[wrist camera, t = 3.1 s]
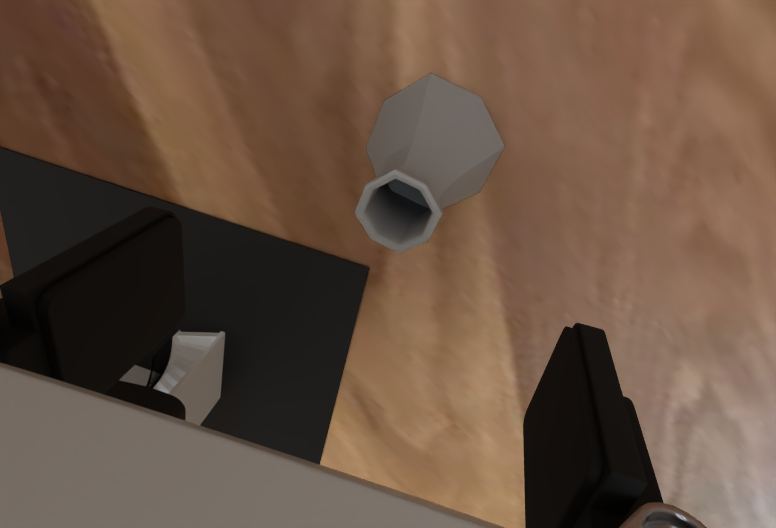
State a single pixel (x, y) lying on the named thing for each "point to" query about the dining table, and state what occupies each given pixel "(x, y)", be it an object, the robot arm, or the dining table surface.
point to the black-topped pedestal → (210, 310)
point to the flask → (425, 160)
